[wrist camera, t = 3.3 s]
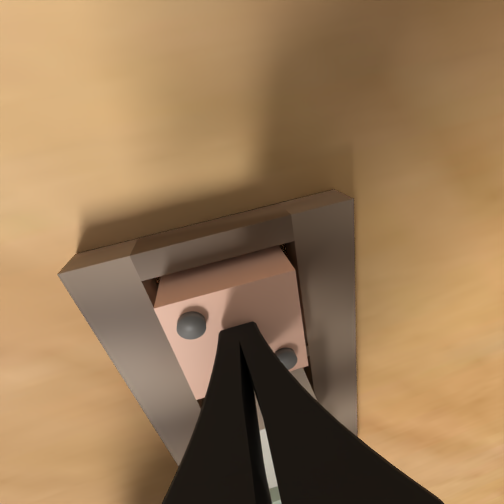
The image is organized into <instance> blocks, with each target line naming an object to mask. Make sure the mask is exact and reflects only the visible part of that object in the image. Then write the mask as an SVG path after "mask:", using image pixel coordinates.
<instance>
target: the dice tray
mask: <svg viewBox="0 0 504 504" xmlns="http://www.w3.org/2000/svg"><path fill="white" fill-rule="evenodd" d="M281 244H285V245H286V252H287V258H288V260H289V261H290V263H291V264H292V266H293V267H294V269H295V272H296V279H297V286H298V293H299V301H300V308H301V315H302V322H303V330H304V337H305V344H306V352H307V359H308V366H306V367H304V372H305V374H306V376H307V379H308V381H309V383H310V385H311V388H312V390H313V392H314V395H315V397H316V399H317V401H318V402H319V403H320V404H321V405H322V406H323V407H324V408H325V409H326V410H327V411H328V412H329V413H330V414H331V415H333V416H334V417H335V418H336V419H337V420H338V421H339V422H340V423H341V424H343V425H344V426H345V427H346V428H347V429H349V430H350V431H351V432H352V433H353V434H355V435H356V436H357V377H356V311H355V244H354V199H353V198H351V197H349V196H347V195H345V194H343V193H341V192H339V191H337V190H335V189H334V190H330V191H326V192H322V193H318V194H314V195H310V196H306V197H302V198H298V199H294V200H290V201H286V202H282V203H278V204H274V205H270V206H266V207H262V208H258V209H254V210H250V211H246V212H242V213H238V214H234V215H230V216H226V217H222V218H218V219H214V220H210V221H206V222H202V223H198V224H194V225H190V226H186V227H182V228H178V229H174V230H170V231H166V232H162V233H158V234H154V235H150V236H146V237H142V238H138V239H134V240H130V241H126V242H122V243H118V244H114V245H110V246H106V247H102V248H98V249H94V250H90V251H86V252H82V253H78V254H75V255H74V256H73V257H72V258H71V260H70V261H69V262H68V263H67V264H66V265H65V266H64V267H63V268H62V270H61V271H60V272H59V273H58V274H57V275H58V276H59V278H60V279H61V281H62V283H63V284H64V286H65V287H66V289H67V291H68V292H69V294H70V295H71V297H72V298H73V300H74V302H75V303H76V305H77V306H78V308H79V310H80V311H81V313H82V314H83V316H84V317H85V319H86V321H87V322H88V324H89V325H90V327H91V329H92V330H93V332H94V333H95V335H96V336H97V338H98V340H99V341H100V343H101V344H102V346H103V348H104V349H105V351H106V352H107V354H108V355H109V357H110V359H111V360H112V362H113V363H114V365H115V367H116V368H117V370H118V371H119V373H120V374H121V376H122V378H123V379H124V381H125V382H126V384H127V386H128V387H129V389H130V390H131V392H132V393H133V395H134V397H135V398H136V400H137V401H138V403H139V405H140V406H141V408H142V409H143V411H144V412H145V414H146V416H147V417H148V419H149V420H150V422H151V424H152V425H153V427H154V428H155V430H156V431H157V433H158V435H159V436H160V438H161V439H162V441H163V443H164V444H165V446H166V447H167V449H168V450H169V452H170V454H171V455H172V457H173V458H174V460H175V462H176V463H177V465H178V466H179V465H180V463H181V460H182V458H183V456H184V453H185V451H186V449H187V446H188V444H189V441H190V439H191V436H192V433H193V431H194V428H195V425H196V423H197V420H198V417H199V414H200V411H201V408H202V405H203V401H204V398H205V397H204V398H201V399H198V400H196V399H195V397H194V394H193V392H192V390H191V388H190V386H189V384H188V382H187V379H186V377H185V375H184V373H183V371H182V369H181V367H180V364H179V362H178V360H177V358H176V356H175V354H174V351H173V349H172V347H171V345H170V343H169V341H168V339H167V336H166V334H165V332H164V330H163V328H162V326H161V324H160V321H159V319H158V317H157V315H156V313H155V311H154V305H155V300H156V295H157V291H158V283H157V281H156V279H155V278H156V277H159V276H163V275H167V274H171V273H175V272H178V271H182V270H186V269H190V268H194V267H197V266H201V265H205V264H209V263H213V262H216V261H220V260H224V259H228V258H232V257H235V256H239V255H243V254H247V253H250V252H254V251H258V250H262V249H266V248H269V247H273V246H277V245H281Z"/></svg>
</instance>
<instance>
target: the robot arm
mask: <svg viewBox="0 0 504 504" xmlns="http://www.w3.org/2000/svg"><path fill="white" fill-rule="evenodd" d="M254 392H255V394H254ZM255 395H256V398H257V401H258V404H259V407H260V411H261V414H262V417H263V420H264V425H265V429H266V434H267V439H268V443H269V448H270V452H271V457H272V462H273V466H274V471H275V476H276V480H277V485H278V490H279V494H280V499H281V504H444V503H443V502H442V501H441V500H440V499H439V498H438V497H436V496H435V495H434V494H432V493H431V492H429V491H428V490H427V489H425V488H424V487H422V486H421V485H420V484H418V483H417V482H415V481H414V480H413V479H411V478H410V477H408V476H407V475H406V474H404V473H403V472H402V471H400V470H399V469H398V468H396V467H395V466H393V465H392V464H391V463H390V462H388V461H387V460H386V459H384V458H383V457H382V456H381V455H379V454H378V453H377V452H375V451H374V450H373V449H371V448H370V447H369V446H368V445H367V444H365V443H364V442H363V441H362V440H361V439H359V438H358V437H357V436H356V435H355V434H353V433H352V432H351V431H350V430H349V429H347V428H346V427H345V426H344V425H343V424H341V423H340V422H339V421H338V420H337V419H336V418H335V417H334V416H333V415H331V414H330V413H329V412H328V411H327V410H326V409H325V408H324V407H323V406H322V405H321V404H320V403H319V402H318V401H317V400H316V399H315V398H314V397H313V396H312V395H311V394H310V393H309V392H308V391H307V390H306V389H305V388H304V387H303V386H302V385H301V384H300V383H299V382H298V381H297V380H296V378H295V377H294V376H293V375H292V374H291V373H290V372H289V371H288V369H287V368H286V367H285V366H284V365H283V363H282V362H281V361H280V359H279V358H278V357H277V356H276V354H275V353H274V352H273V350H272V349H271V348H270V346H269V345H268V343H267V342H266V340H265V339H264V337H263V336H262V334H261V332H260V330H259V328H258V326H257V324H256V323H255V322H253V321H252V322H249V323H245V324H242V325H238V326H235V327H231V328H228V329H224V330H221V331H220V332H219V335H218V344H217V351H216V356H215V361H214V365H213V369H212V373H211V377H210V381H209V385H208V389H207V392H206V395H205V398H204V401H203V405H202V408H201V411H200V414H199V417H198V420H197V423H196V425H195V428H194V431H193V433H192V436H191V439H190V441H189V444H188V446H187V449H186V451H185V453H184V456H183V458H182V460H181V463H180V465H179V467H178V470H177V472H176V474H175V476H174V479H173V481H172V483H171V485H170V487H169V490H168V492H167V494H166V496H165V498H164V500H163V502H162V504H272V500H271V495H270V491H269V486H268V481H267V477H266V471H265V465H264V460H263V453H262V445H261V438H260V431H259V423H258V416H257V409H256V401H255Z"/></svg>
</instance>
